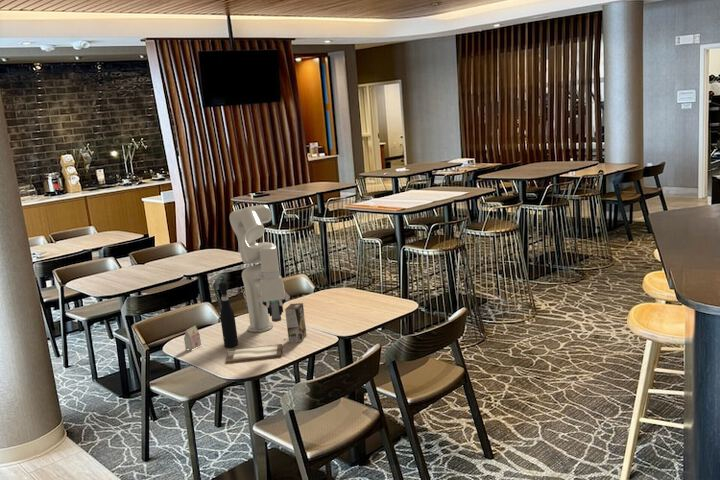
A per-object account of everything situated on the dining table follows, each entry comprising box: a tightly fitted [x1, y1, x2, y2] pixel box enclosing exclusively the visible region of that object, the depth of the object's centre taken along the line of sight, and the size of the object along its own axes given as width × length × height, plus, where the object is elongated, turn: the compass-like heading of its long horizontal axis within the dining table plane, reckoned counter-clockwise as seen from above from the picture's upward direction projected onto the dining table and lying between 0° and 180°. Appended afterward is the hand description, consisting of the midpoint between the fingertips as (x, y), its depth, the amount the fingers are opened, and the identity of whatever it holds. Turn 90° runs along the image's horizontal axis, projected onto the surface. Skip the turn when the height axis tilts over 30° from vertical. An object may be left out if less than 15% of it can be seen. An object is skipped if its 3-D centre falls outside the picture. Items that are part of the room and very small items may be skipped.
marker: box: [269, 300, 282, 323], centre depth 293 cm, size 4×4×12 cm
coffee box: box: [284, 302, 308, 343], centre depth 309 cm, size 9×6×16 cm
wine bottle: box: [218, 282, 239, 349], centre depth 307 cm, size 6×6×30 cm
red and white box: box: [183, 325, 202, 350], centre depth 311 cm, size 4×7×10 cm, turn 155°
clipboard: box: [225, 343, 283, 364], centre depth 296 cm, size 14×24×2 cm, turn 94°
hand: (275, 314), depth 294 cm, fingers closed on marker, 4 cm apart
